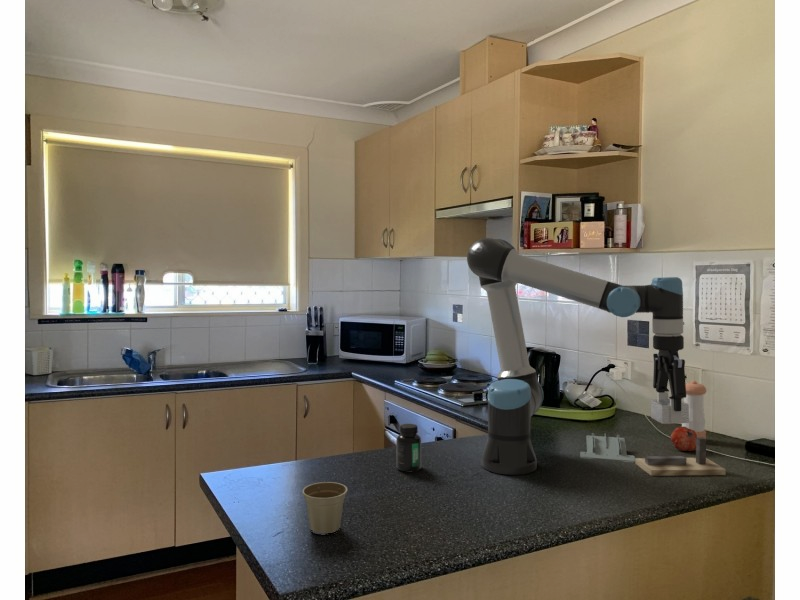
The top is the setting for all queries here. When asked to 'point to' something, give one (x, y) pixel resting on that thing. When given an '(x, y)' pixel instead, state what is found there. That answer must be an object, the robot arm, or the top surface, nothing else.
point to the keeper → (681, 463)
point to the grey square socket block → (667, 411)
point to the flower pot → (325, 505)
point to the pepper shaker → (695, 408)
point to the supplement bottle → (408, 448)
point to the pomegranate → (684, 439)
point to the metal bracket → (606, 449)
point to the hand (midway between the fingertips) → (669, 419)
